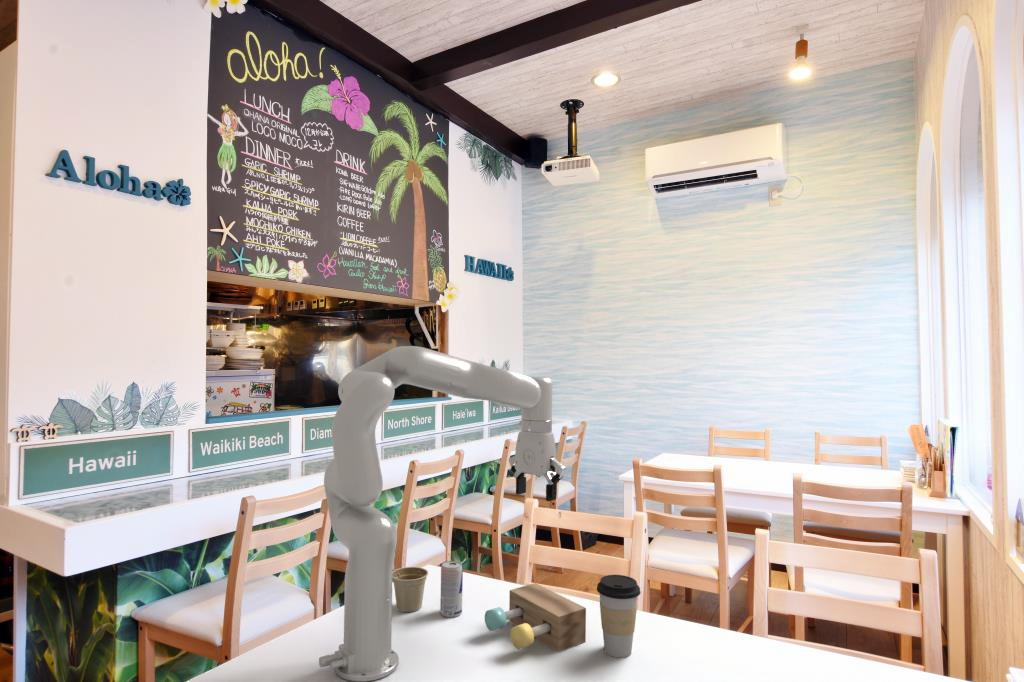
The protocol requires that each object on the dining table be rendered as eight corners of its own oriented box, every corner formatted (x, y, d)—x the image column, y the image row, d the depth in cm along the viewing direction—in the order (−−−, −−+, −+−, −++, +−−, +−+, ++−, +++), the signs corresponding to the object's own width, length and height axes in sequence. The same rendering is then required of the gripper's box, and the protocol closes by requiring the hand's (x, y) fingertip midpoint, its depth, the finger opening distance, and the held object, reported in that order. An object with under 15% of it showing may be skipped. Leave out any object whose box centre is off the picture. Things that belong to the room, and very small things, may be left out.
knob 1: (495, 634, 134) (495, 614, 134) (484, 626, 137) (484, 607, 137) (533, 621, 140) (534, 602, 140) (522, 615, 144) (522, 596, 144)
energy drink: (463, 609, 150) (464, 561, 151) (459, 618, 145) (460, 568, 145) (442, 608, 151) (443, 560, 151) (438, 617, 146) (438, 567, 146)
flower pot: (382, 612, 148) (383, 577, 148) (400, 598, 157) (401, 564, 157) (417, 618, 145) (418, 582, 145) (433, 602, 154) (434, 569, 154)
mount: (558, 651, 129) (558, 616, 130) (509, 621, 144) (509, 590, 144) (585, 641, 134) (585, 608, 134) (535, 613, 149) (535, 583, 149)
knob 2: (522, 652, 126) (522, 631, 126) (510, 644, 129) (510, 623, 129) (562, 638, 132) (562, 618, 132) (549, 630, 136) (549, 611, 136)
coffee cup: (607, 664, 124) (607, 591, 125) (589, 643, 134) (590, 575, 134) (648, 658, 127) (648, 587, 127) (627, 638, 136) (628, 571, 136)
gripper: (500, 425, 151) (499, 493, 150) (554, 431, 139) (553, 505, 138) (520, 422, 156) (519, 489, 156) (574, 429, 144) (573, 500, 144)
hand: (535, 496), depth 147 cm, fingers open, 9 cm apart
